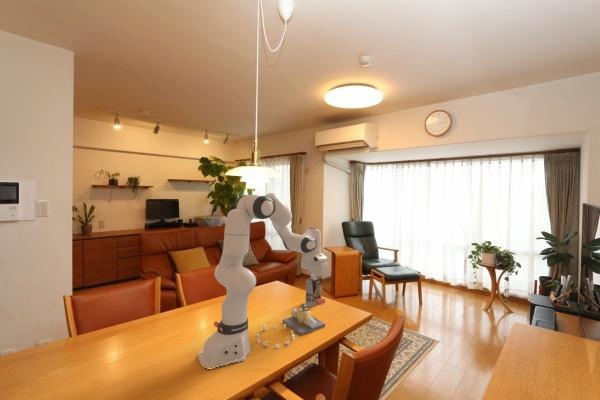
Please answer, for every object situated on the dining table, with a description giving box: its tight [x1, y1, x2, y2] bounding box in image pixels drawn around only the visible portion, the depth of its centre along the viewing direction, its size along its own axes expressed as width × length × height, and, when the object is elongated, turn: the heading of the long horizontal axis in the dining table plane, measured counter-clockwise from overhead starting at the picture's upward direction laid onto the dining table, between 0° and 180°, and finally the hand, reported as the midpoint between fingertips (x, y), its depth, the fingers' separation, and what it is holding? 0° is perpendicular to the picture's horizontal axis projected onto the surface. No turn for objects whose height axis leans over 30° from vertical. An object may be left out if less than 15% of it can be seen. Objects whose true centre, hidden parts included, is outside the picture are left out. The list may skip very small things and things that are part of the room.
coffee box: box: [305, 276, 322, 307], centre depth 175 cm, size 9×6×16 cm
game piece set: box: [255, 323, 296, 349], centre depth 135 cm, size 19×20×4 cm
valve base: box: [282, 307, 326, 336], centre depth 148 cm, size 16×17×9 cm
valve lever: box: [300, 297, 326, 309], centre depth 151 cm, size 15×3×2 cm, turn 126°
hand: (313, 279), depth 159 cm, fingers closed
